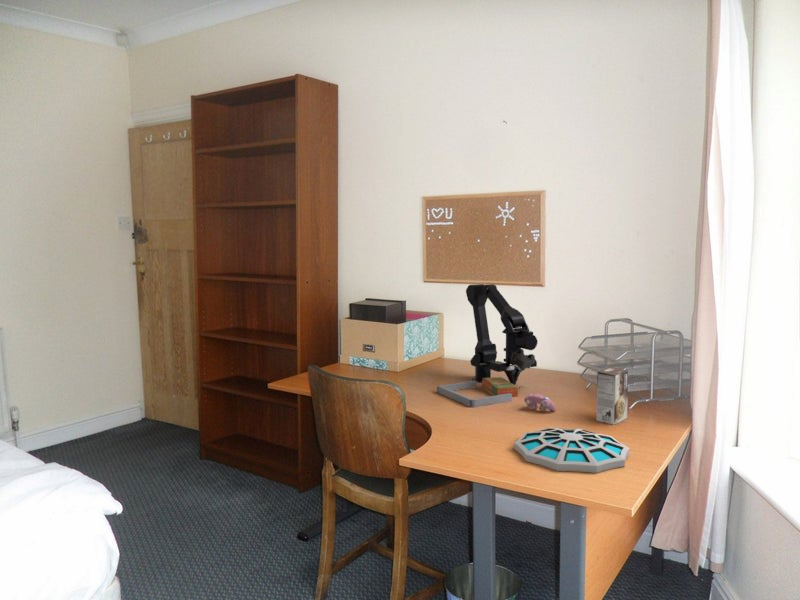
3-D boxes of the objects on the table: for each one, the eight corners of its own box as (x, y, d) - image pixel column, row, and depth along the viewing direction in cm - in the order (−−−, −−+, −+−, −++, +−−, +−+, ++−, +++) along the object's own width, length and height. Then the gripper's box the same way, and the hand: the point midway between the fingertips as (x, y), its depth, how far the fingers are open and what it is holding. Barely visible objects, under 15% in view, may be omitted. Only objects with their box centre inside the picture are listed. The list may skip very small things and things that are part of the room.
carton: (501, 387, 241) (502, 376, 241) (518, 397, 226) (518, 386, 225) (481, 388, 239) (481, 377, 239) (497, 399, 224) (497, 387, 223)
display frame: (436, 392, 233) (436, 385, 232) (474, 386, 241) (474, 380, 240) (471, 407, 212) (471, 400, 212) (511, 400, 220) (511, 394, 220)
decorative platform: (493, 453, 169) (493, 435, 169) (550, 428, 190) (550, 413, 189) (596, 484, 148) (597, 464, 147) (649, 453, 168) (649, 435, 167)
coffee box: (608, 414, 202) (610, 366, 201) (627, 418, 198) (629, 369, 196) (595, 420, 196) (596, 371, 194) (614, 425, 191) (615, 374, 190)
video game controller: (525, 412, 211) (521, 396, 208) (531, 404, 214) (527, 388, 211) (551, 418, 205) (547, 401, 202) (557, 409, 207) (553, 393, 204)
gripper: (507, 352, 221) (506, 394, 223) (546, 347, 230) (546, 387, 232) (488, 347, 231) (488, 387, 233) (527, 342, 240) (527, 381, 241)
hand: (513, 386), depth 234 cm, fingers closed
